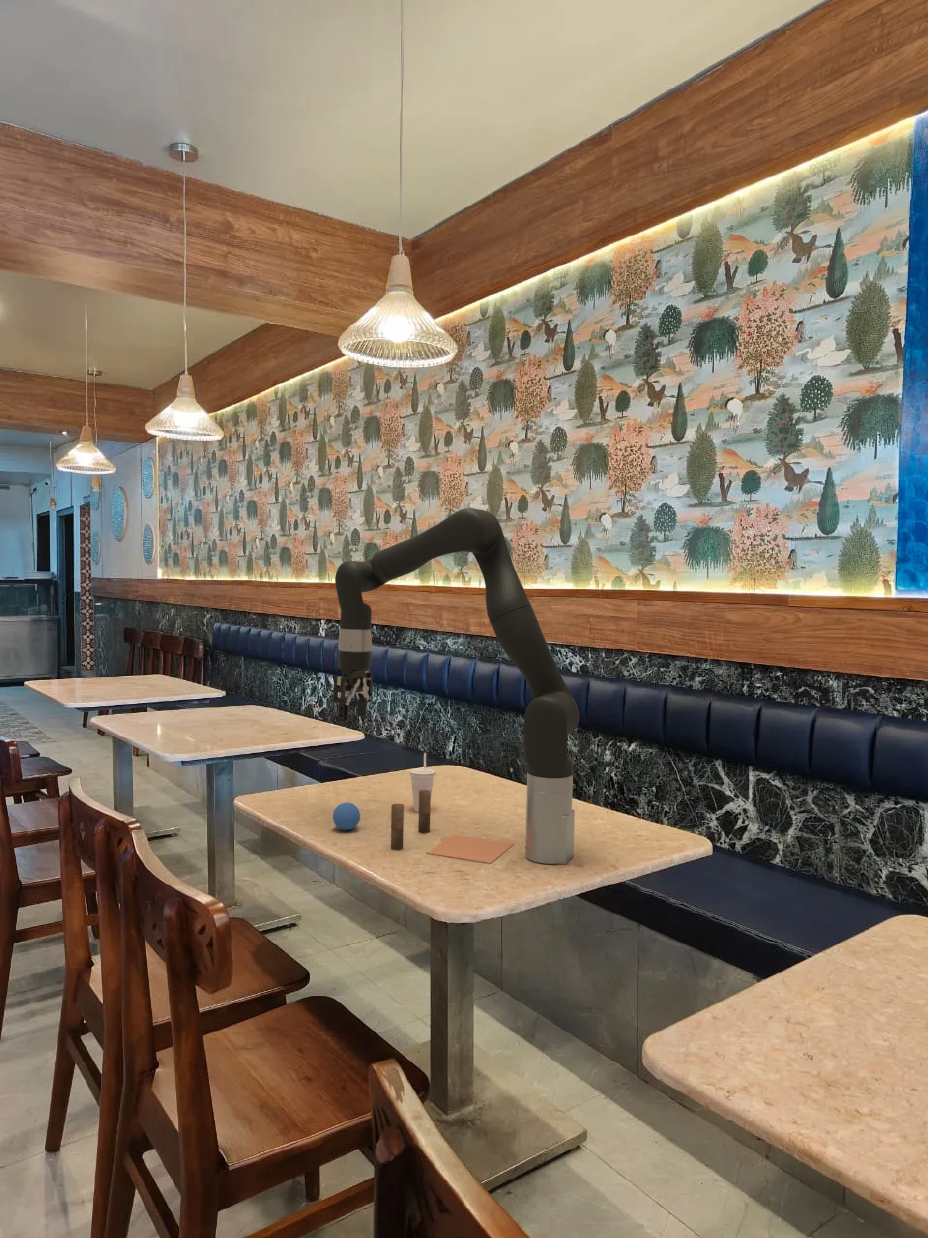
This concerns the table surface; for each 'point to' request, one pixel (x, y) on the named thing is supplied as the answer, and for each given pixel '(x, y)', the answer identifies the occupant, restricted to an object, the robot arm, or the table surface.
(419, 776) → the smoothie
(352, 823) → the ball
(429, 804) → the right post
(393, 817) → the left post
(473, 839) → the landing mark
